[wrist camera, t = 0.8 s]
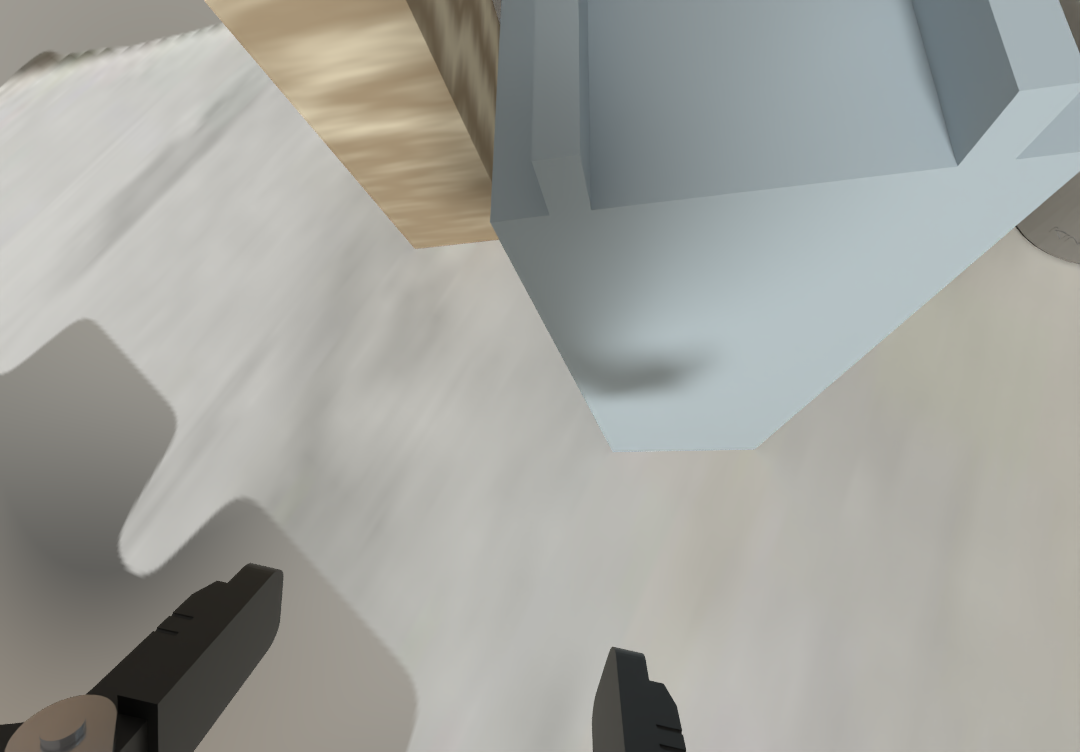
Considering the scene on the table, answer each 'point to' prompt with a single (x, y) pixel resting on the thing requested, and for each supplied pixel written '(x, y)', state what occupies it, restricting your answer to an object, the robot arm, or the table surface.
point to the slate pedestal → (761, 187)
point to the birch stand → (391, 98)
